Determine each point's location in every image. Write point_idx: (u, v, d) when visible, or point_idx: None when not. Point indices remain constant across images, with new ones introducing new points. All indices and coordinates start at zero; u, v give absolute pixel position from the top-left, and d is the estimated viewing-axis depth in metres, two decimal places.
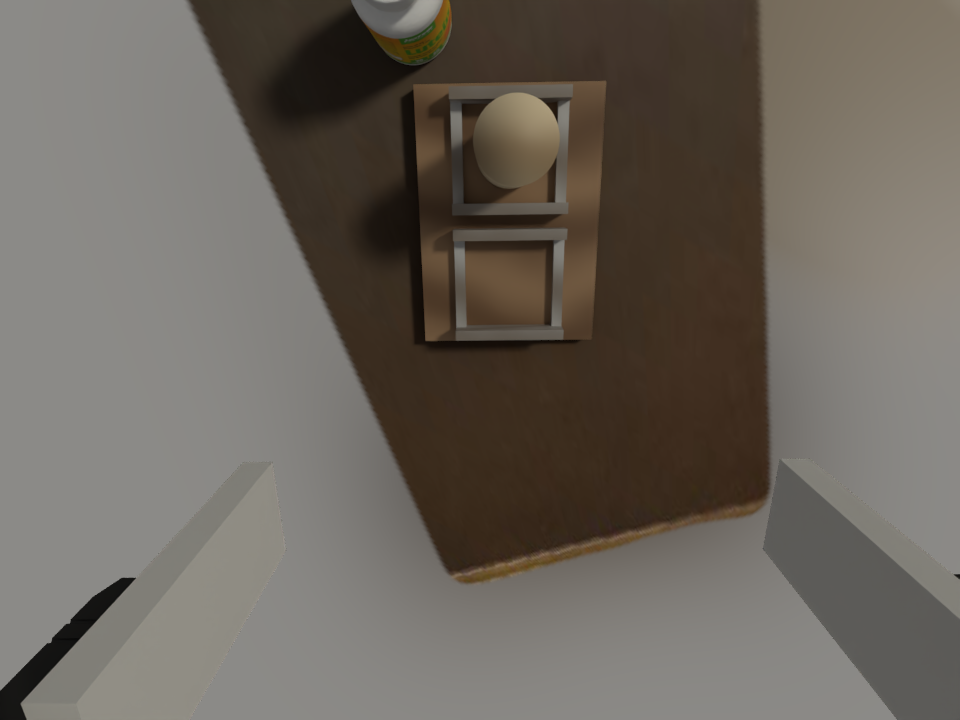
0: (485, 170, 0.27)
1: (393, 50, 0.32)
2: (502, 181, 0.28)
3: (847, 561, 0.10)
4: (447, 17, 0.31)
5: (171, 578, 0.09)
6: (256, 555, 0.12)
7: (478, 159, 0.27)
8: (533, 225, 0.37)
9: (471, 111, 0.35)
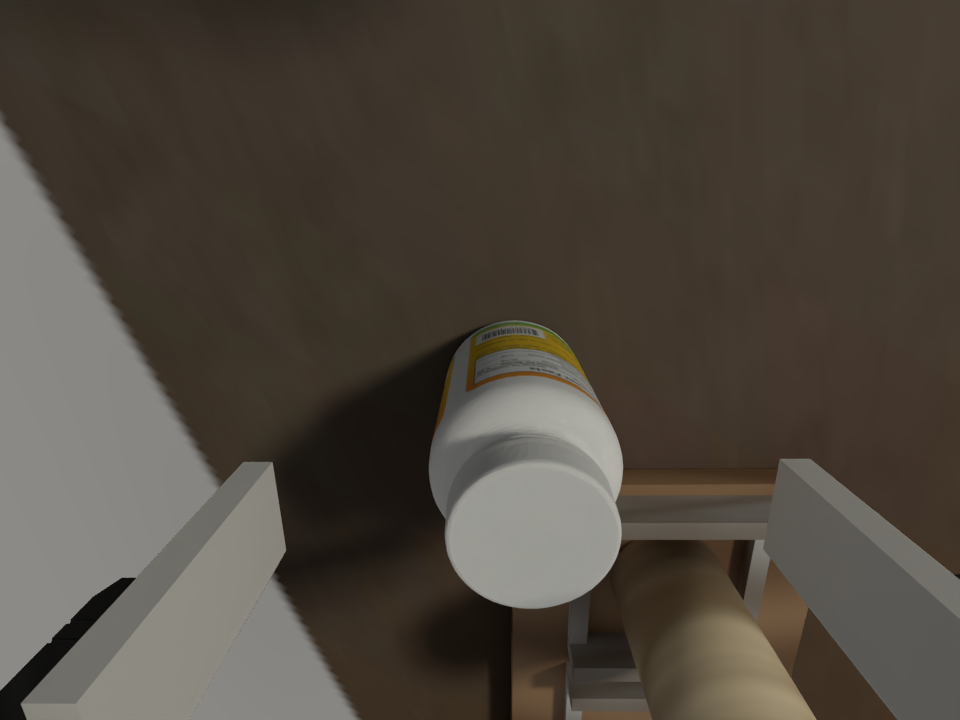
0: None
1: None
2: None
3: (848, 561, 0.10)
4: None
5: (171, 578, 0.09)
6: (256, 555, 0.12)
7: None
8: None
9: None
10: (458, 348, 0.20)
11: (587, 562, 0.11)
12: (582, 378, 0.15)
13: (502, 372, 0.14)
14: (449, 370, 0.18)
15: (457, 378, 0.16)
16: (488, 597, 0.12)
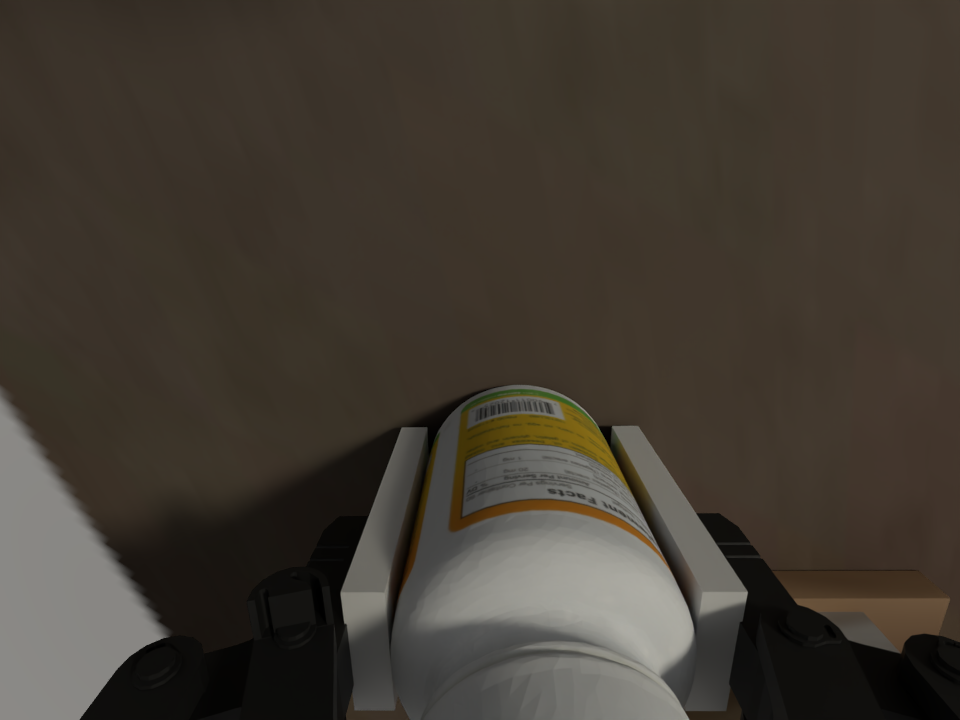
0: None
1: None
2: None
3: None
4: None
5: (399, 511, 0.11)
6: None
7: None
8: None
9: None
10: (444, 422, 0.15)
11: None
12: (623, 491, 0.10)
13: (504, 498, 0.09)
14: (431, 457, 0.13)
15: (439, 487, 0.11)
16: None
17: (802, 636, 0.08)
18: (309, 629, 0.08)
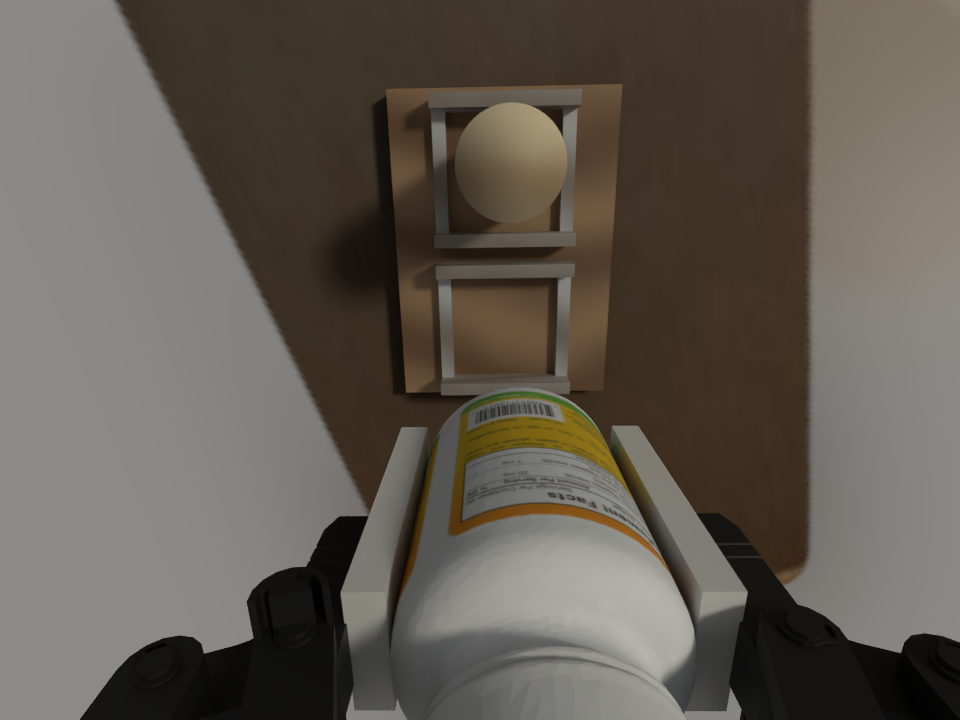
0: (471, 203, 0.21)
1: None
2: (493, 217, 0.21)
3: None
4: None
5: (399, 511, 0.11)
6: None
7: (462, 189, 0.21)
8: (533, 257, 0.31)
9: (457, 121, 0.28)
10: (444, 424, 0.14)
11: None
12: (623, 494, 0.10)
13: (504, 502, 0.09)
14: (431, 460, 0.13)
15: (438, 491, 0.11)
16: None
17: (802, 636, 0.08)
18: (309, 629, 0.08)
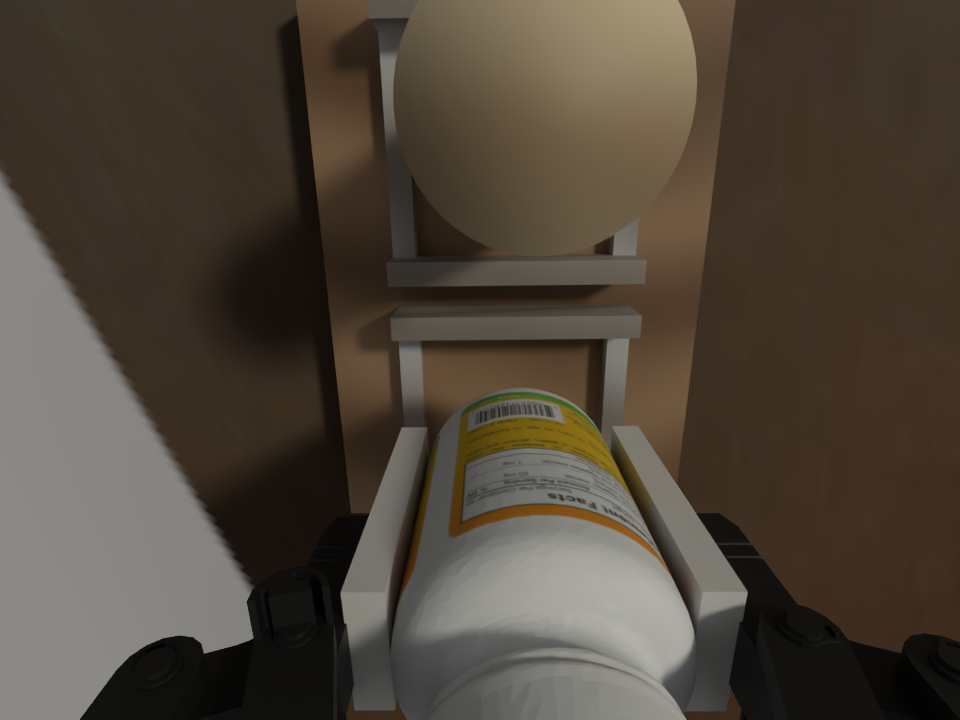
0: (439, 205, 0.08)
1: None
2: (496, 241, 0.08)
3: (636, 505, 0.12)
4: None
5: (399, 511, 0.11)
6: None
7: (414, 168, 0.08)
8: (564, 299, 0.18)
9: None
10: (444, 424, 0.14)
11: None
12: (623, 495, 0.10)
13: (505, 502, 0.09)
14: (431, 460, 0.13)
15: (438, 491, 0.11)
16: None
17: (802, 636, 0.08)
18: (309, 629, 0.08)
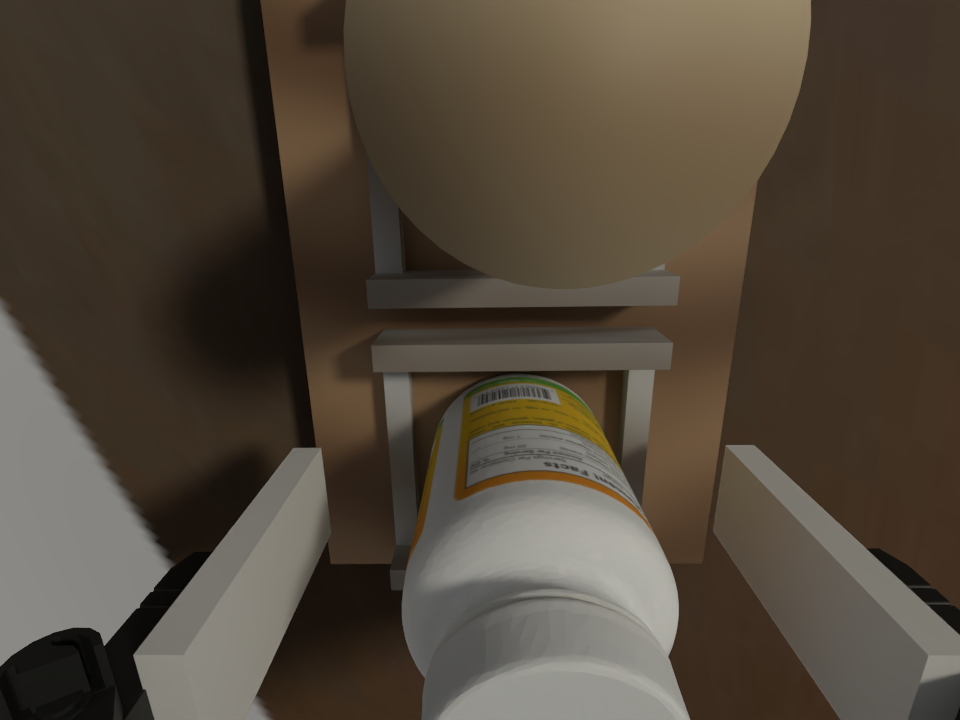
0: (416, 214, 0.06)
1: None
2: (501, 267, 0.06)
3: (777, 537, 0.11)
4: None
5: (247, 550, 0.10)
6: (309, 535, 0.13)
7: (378, 160, 0.05)
8: (578, 321, 0.15)
9: None
10: (448, 408, 0.15)
11: None
12: (613, 467, 0.11)
13: (505, 470, 0.10)
14: (435, 440, 0.14)
15: (444, 465, 0.12)
16: None
17: None
18: (81, 699, 0.07)
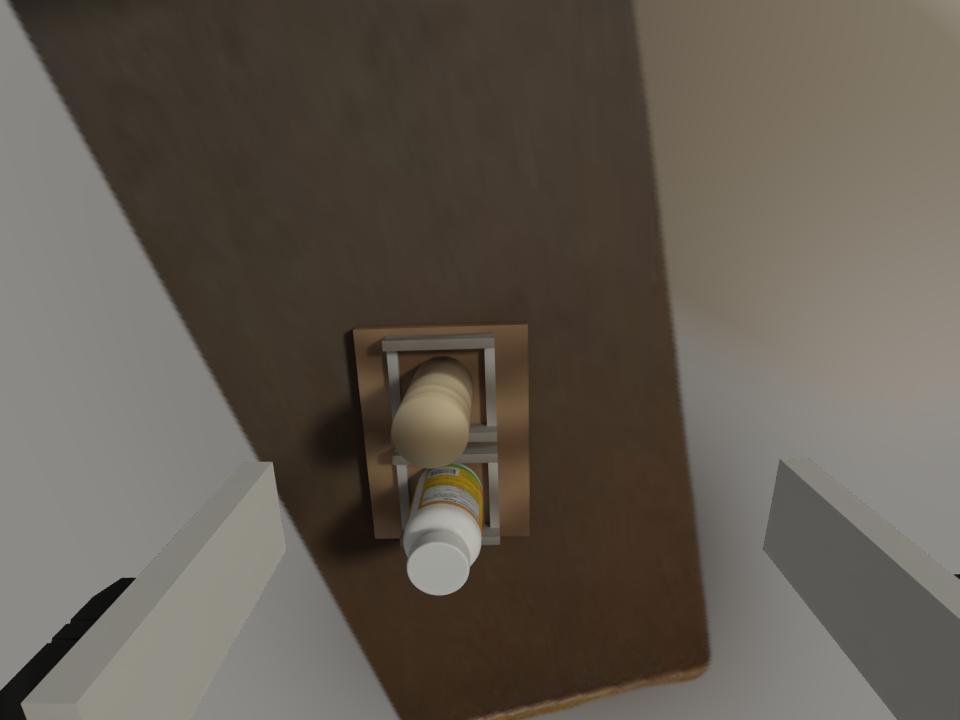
0: (404, 456, 0.31)
1: None
2: (420, 465, 0.31)
3: (848, 561, 0.10)
4: None
5: (171, 578, 0.09)
6: (256, 555, 0.12)
7: (397, 448, 0.30)
8: (469, 442, 0.40)
9: (406, 350, 0.38)
10: (421, 475, 0.40)
11: (457, 577, 0.32)
12: (469, 498, 0.36)
13: (432, 500, 0.35)
14: (416, 488, 0.39)
15: (416, 498, 0.37)
16: (423, 591, 0.32)
17: None
18: None
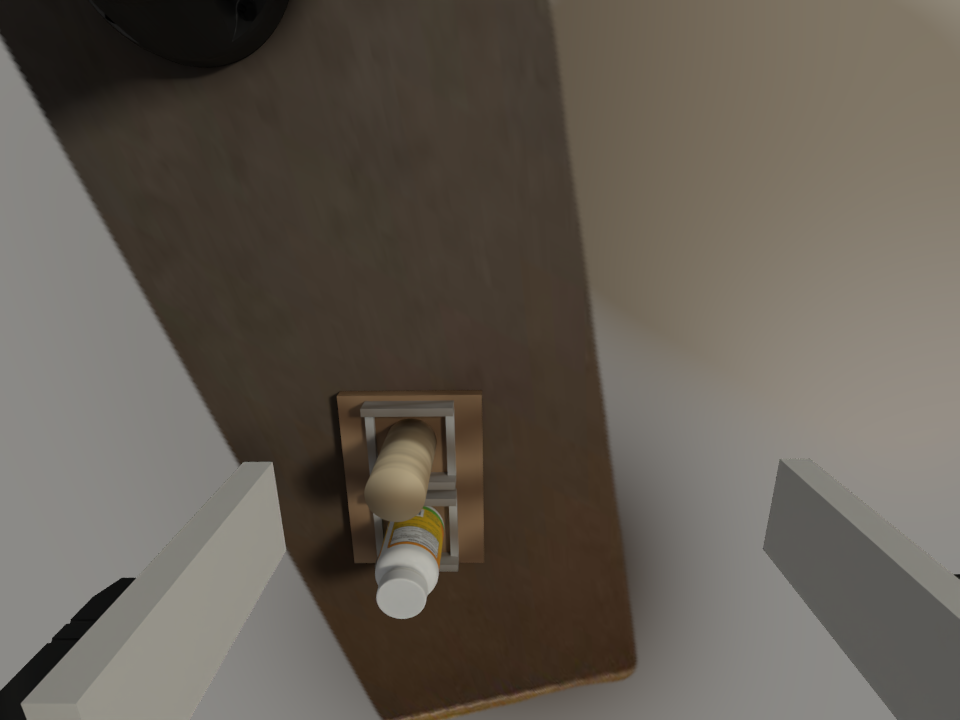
0: (374, 512, 0.39)
1: None
2: (387, 519, 0.39)
3: (848, 561, 0.10)
4: None
5: (171, 578, 0.09)
6: (256, 555, 0.12)
7: (368, 506, 0.38)
8: None
9: None
10: None
11: (416, 605, 0.40)
12: (430, 538, 0.44)
13: (399, 541, 0.43)
14: (388, 525, 0.47)
15: (387, 536, 0.45)
16: (389, 615, 0.41)
17: None
18: None
